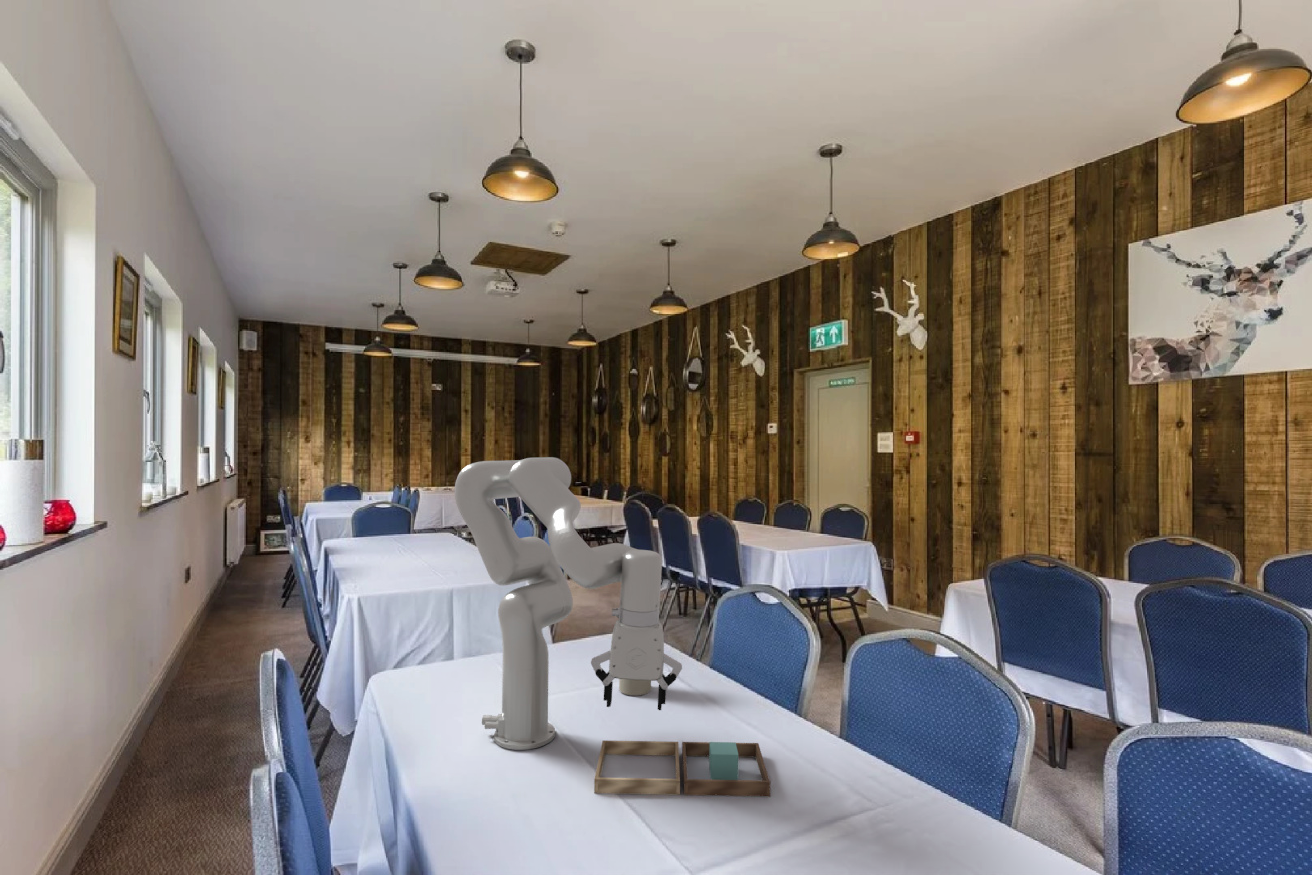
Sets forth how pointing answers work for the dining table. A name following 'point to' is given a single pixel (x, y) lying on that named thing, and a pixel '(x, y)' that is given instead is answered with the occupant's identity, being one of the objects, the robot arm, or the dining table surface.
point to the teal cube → (723, 761)
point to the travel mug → (634, 687)
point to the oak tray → (637, 783)
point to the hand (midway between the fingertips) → (634, 705)
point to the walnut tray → (725, 785)
